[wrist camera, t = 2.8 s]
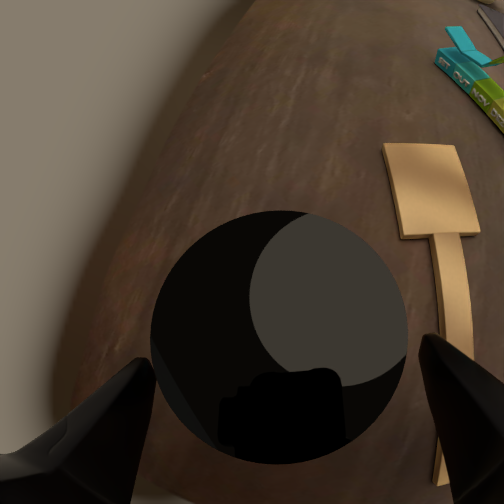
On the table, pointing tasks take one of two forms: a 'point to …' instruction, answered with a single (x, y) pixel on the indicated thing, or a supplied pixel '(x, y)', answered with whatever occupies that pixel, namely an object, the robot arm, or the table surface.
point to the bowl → (486, 1)
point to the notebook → (493, 22)
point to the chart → (472, 73)
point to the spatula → (437, 235)
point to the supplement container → (279, 337)
